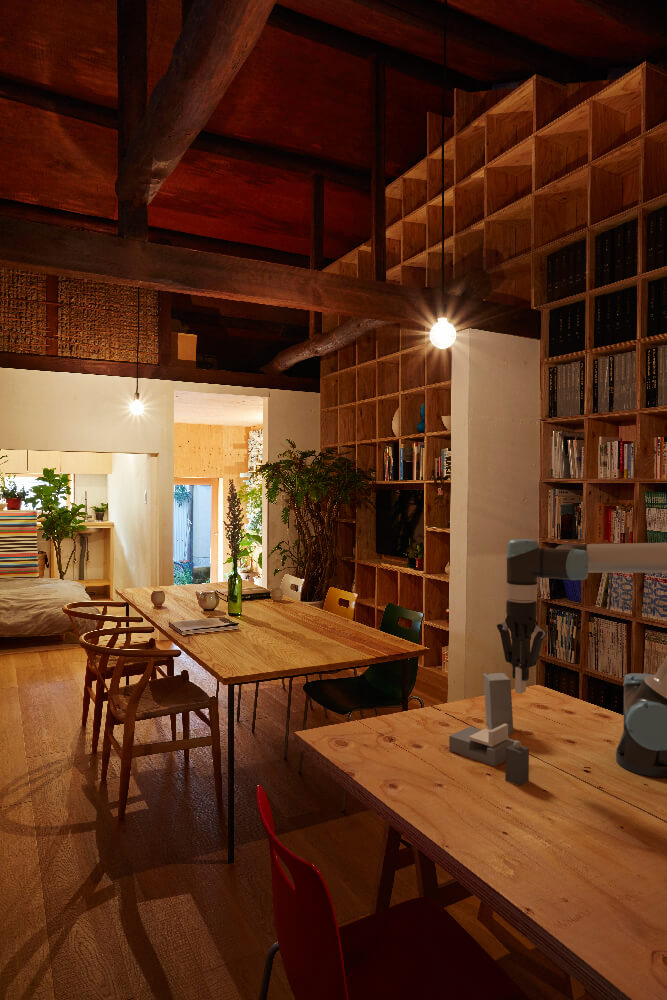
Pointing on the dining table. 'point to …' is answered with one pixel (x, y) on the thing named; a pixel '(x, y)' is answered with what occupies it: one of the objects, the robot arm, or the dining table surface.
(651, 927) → the dining table surface
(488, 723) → the skincare box
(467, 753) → the socket
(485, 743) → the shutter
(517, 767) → the plug
